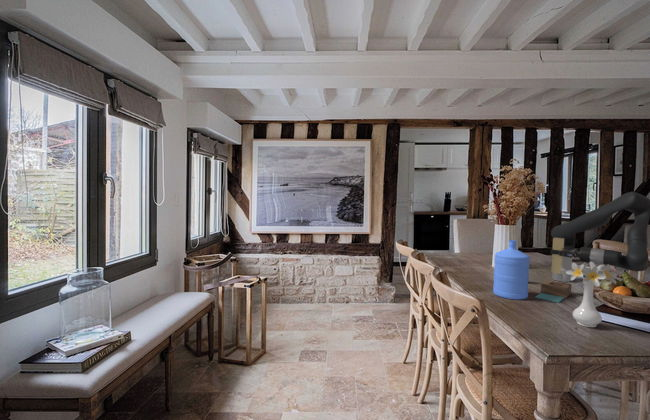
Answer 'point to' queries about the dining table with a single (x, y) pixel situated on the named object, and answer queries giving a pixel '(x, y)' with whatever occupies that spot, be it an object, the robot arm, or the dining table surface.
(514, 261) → the water jug
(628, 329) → the dining table surface
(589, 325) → the flower vase
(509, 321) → the dining table surface
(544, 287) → the socket block
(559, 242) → the tan wooden peg
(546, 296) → the teal mat
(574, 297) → the dining table surface
